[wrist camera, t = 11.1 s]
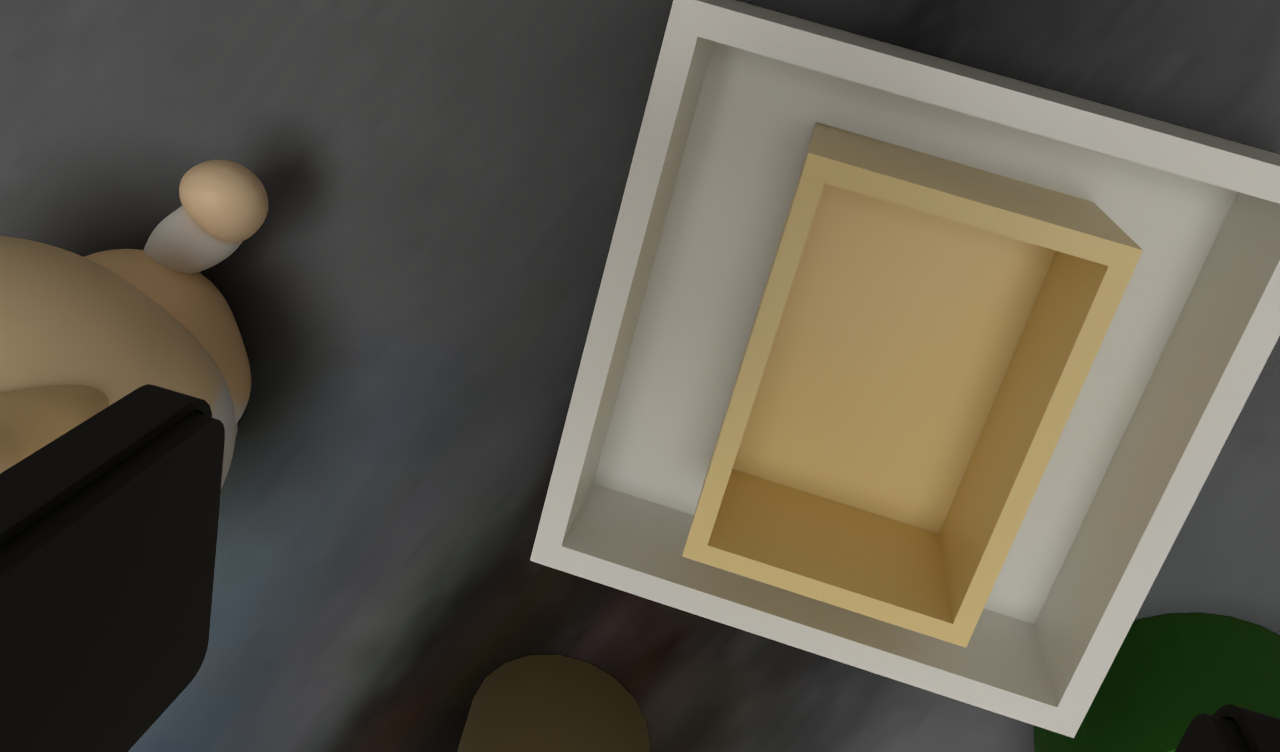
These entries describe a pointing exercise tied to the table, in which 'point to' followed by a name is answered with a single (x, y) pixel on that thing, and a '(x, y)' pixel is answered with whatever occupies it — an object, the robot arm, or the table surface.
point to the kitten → (127, 318)
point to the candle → (1175, 683)
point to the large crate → (733, 286)
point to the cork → (553, 710)
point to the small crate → (906, 381)
